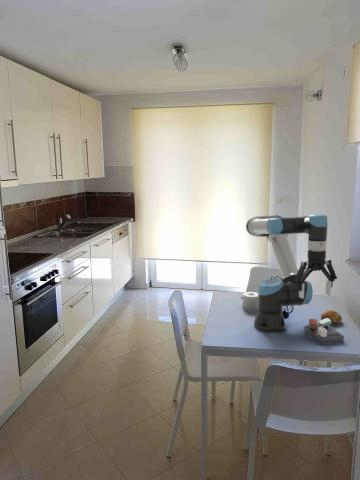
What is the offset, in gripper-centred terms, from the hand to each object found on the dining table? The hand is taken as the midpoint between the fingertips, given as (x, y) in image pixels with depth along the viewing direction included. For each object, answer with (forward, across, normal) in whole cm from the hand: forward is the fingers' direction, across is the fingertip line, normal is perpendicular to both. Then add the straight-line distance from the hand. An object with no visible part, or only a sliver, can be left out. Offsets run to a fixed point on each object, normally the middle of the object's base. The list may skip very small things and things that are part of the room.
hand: (314, 296), depth 170 cm
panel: (+21, +7, +2) cm, 22 cm away
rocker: (+16, +10, +6) cm, 20 cm away
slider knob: (+18, +3, -3) cm, 18 cm away
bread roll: (+22, +21, +16) cm, 34 cm away
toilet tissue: (+21, -9, +47) cm, 53 cm away
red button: (+17, +4, +7) cm, 19 cm away
